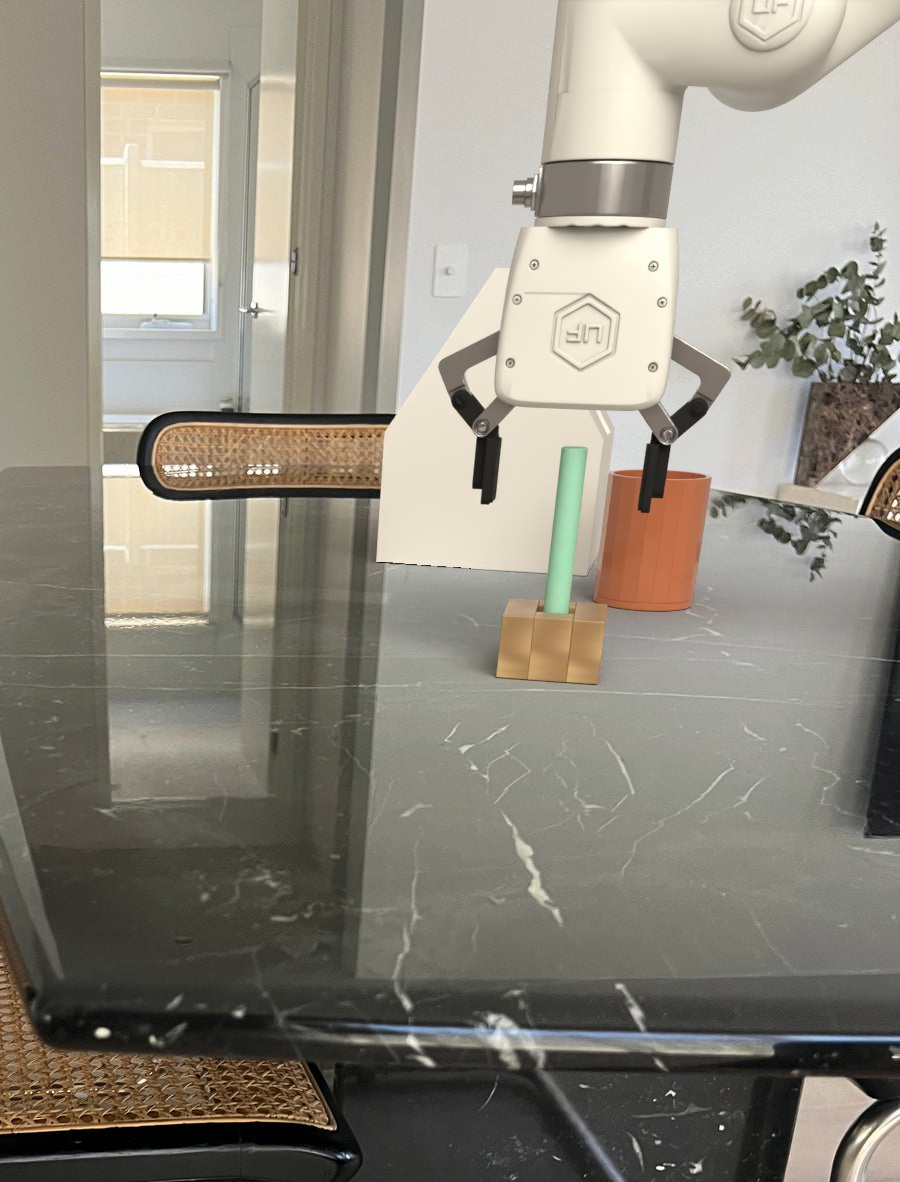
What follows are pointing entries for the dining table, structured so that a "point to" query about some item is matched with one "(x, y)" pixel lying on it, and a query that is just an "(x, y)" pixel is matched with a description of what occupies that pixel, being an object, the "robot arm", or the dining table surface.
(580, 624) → the straw holder
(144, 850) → the dining table surface
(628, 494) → the cup
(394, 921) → the dining table surface
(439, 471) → the white house shaped block
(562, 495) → the straw
